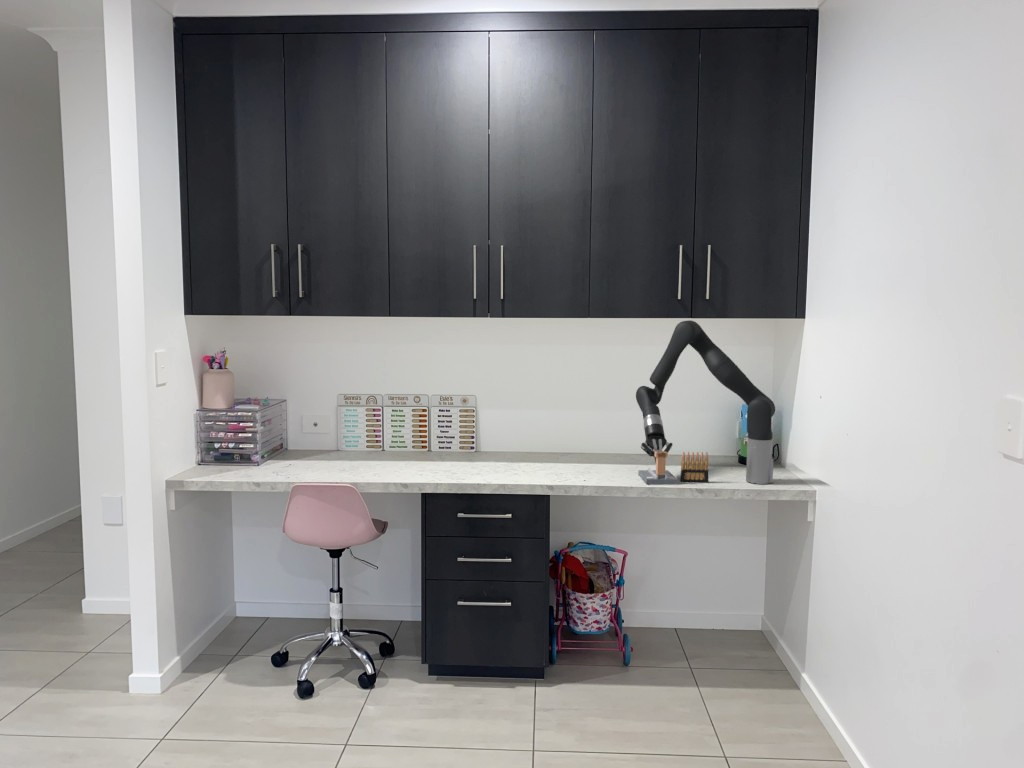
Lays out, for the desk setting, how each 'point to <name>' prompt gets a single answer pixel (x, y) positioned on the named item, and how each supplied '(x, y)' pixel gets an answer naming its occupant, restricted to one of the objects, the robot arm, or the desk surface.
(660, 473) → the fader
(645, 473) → the fader console
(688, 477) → the ammunition clip
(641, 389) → the robot arm
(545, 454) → the desk surface
